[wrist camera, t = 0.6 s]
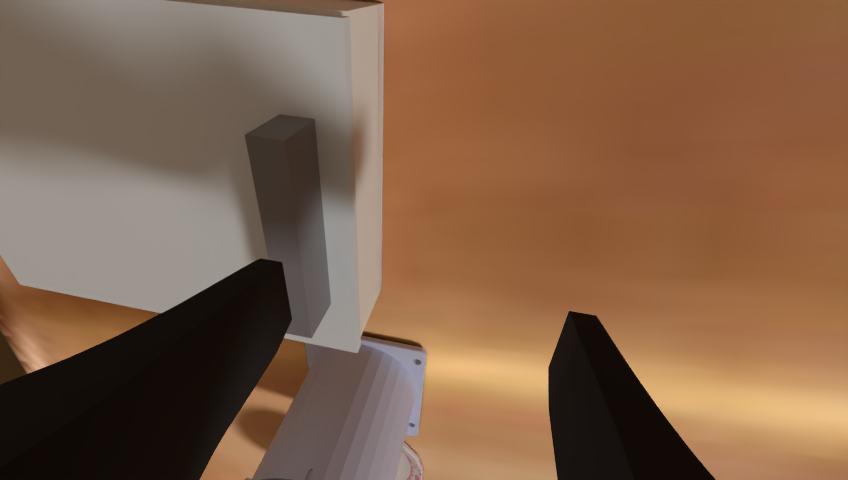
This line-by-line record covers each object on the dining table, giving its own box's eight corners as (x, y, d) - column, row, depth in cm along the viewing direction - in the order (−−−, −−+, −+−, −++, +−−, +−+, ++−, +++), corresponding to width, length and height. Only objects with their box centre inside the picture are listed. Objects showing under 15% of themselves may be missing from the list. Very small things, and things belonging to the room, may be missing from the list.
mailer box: (381, 288, 23) (359, 340, 19) (102, 237, 25) (39, 277, 21) (384, 3, 15) (346, 11, 11) (-27, -36, 17) (-158, -39, 14)
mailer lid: (360, 345, 19) (342, 389, 17) (29, 278, 21) (-23, 311, 19) (350, 16, 11) (312, 25, 9) (-173, -35, 13) (-297, -37, 11)
